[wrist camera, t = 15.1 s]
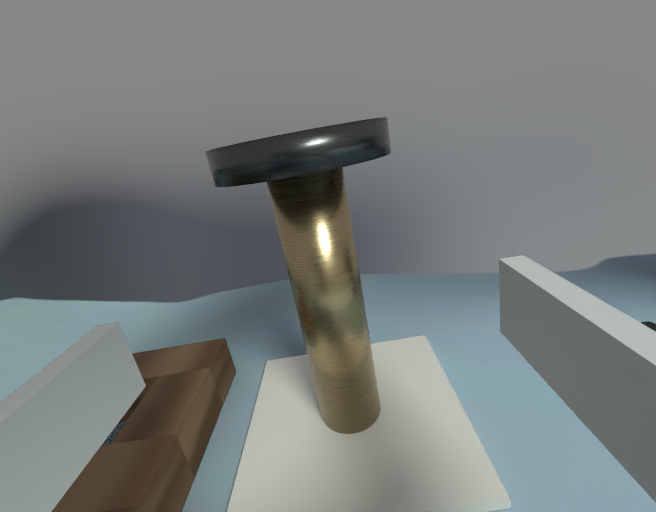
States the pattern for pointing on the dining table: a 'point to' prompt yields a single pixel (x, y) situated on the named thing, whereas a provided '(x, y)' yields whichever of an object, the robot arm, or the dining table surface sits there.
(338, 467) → the pad
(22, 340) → the dining table surface
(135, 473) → the eye block
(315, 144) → the mushroom top post
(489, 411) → the dining table surface
